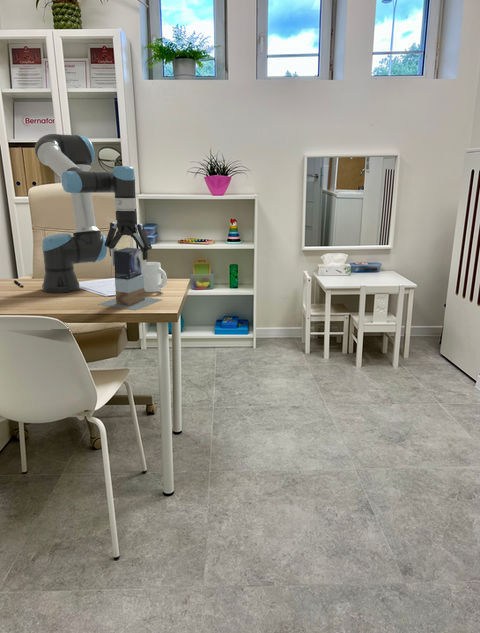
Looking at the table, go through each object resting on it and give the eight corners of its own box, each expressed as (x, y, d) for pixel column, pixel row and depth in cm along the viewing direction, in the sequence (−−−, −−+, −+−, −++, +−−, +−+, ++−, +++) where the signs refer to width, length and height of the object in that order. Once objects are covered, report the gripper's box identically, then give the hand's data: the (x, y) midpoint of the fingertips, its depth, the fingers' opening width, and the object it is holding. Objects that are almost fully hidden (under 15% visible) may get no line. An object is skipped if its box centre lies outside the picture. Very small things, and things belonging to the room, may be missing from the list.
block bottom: (116, 303, 184) (115, 291, 182) (132, 298, 192) (131, 286, 191) (129, 305, 181) (128, 292, 180) (144, 300, 190) (144, 287, 189)
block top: (115, 291, 182) (114, 278, 181) (131, 286, 191) (131, 273, 190) (128, 292, 180) (127, 279, 178) (144, 287, 188) (143, 275, 187)
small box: (130, 279, 178) (128, 251, 175) (114, 278, 180) (112, 250, 177) (142, 274, 188) (141, 247, 185) (127, 273, 190) (126, 247, 187)
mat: (96, 305, 183) (96, 304, 183) (126, 295, 198) (126, 294, 198) (135, 311, 175) (135, 310, 175) (163, 300, 191) (163, 299, 191)
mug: (160, 294, 200) (159, 266, 197) (138, 291, 206) (137, 263, 202) (172, 291, 207) (171, 263, 204) (150, 287, 213) (149, 261, 209)
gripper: (92, 209, 179) (96, 265, 185) (147, 211, 169) (150, 271, 175) (106, 208, 185) (109, 262, 191) (159, 210, 175) (161, 268, 181)
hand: (128, 266), depth 183 cm, fingers open, 13 cm apart
